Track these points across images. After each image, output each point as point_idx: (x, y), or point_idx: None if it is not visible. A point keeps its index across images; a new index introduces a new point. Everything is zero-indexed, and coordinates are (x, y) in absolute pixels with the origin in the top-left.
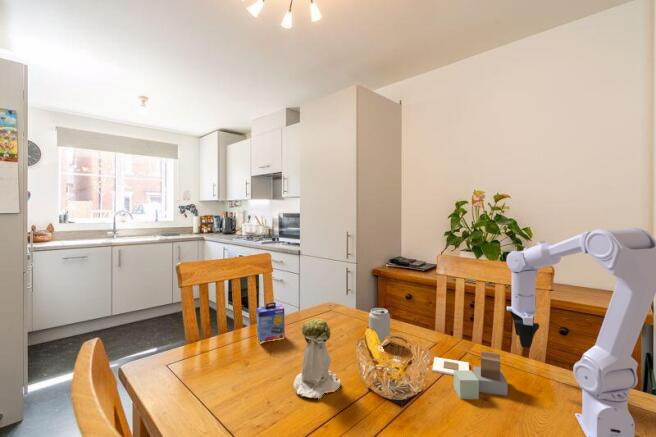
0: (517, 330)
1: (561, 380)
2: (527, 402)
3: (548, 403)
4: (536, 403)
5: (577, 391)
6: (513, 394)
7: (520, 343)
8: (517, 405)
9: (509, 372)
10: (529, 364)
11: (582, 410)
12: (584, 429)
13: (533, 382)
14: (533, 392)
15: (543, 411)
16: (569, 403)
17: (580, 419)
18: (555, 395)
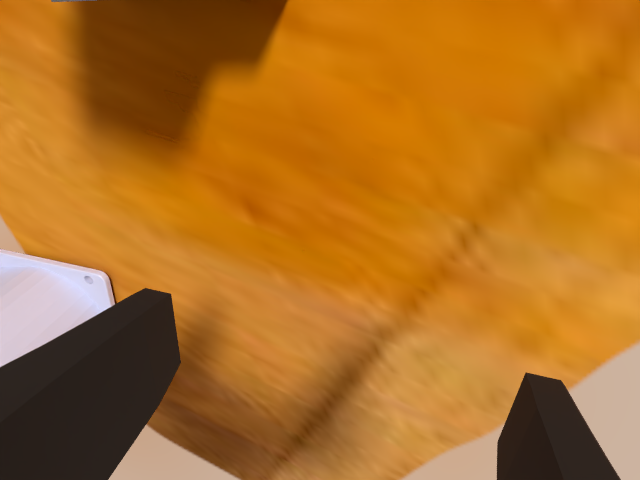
0: (534, 450)
1: (403, 355)
2: (104, 102)
3: (148, 204)
4: (119, 147)
5: (311, 367)
6: (146, 40)
7: (153, 304)
8: (45, 34)
9: (446, 90)
10: (602, 276)
11: (1, 302)
12: (11, 258)
13: (338, 209)
14: (221, 169)
15: (68, 156)
16: (192, 291)
17: (66, 274)
18: (237, 265)
